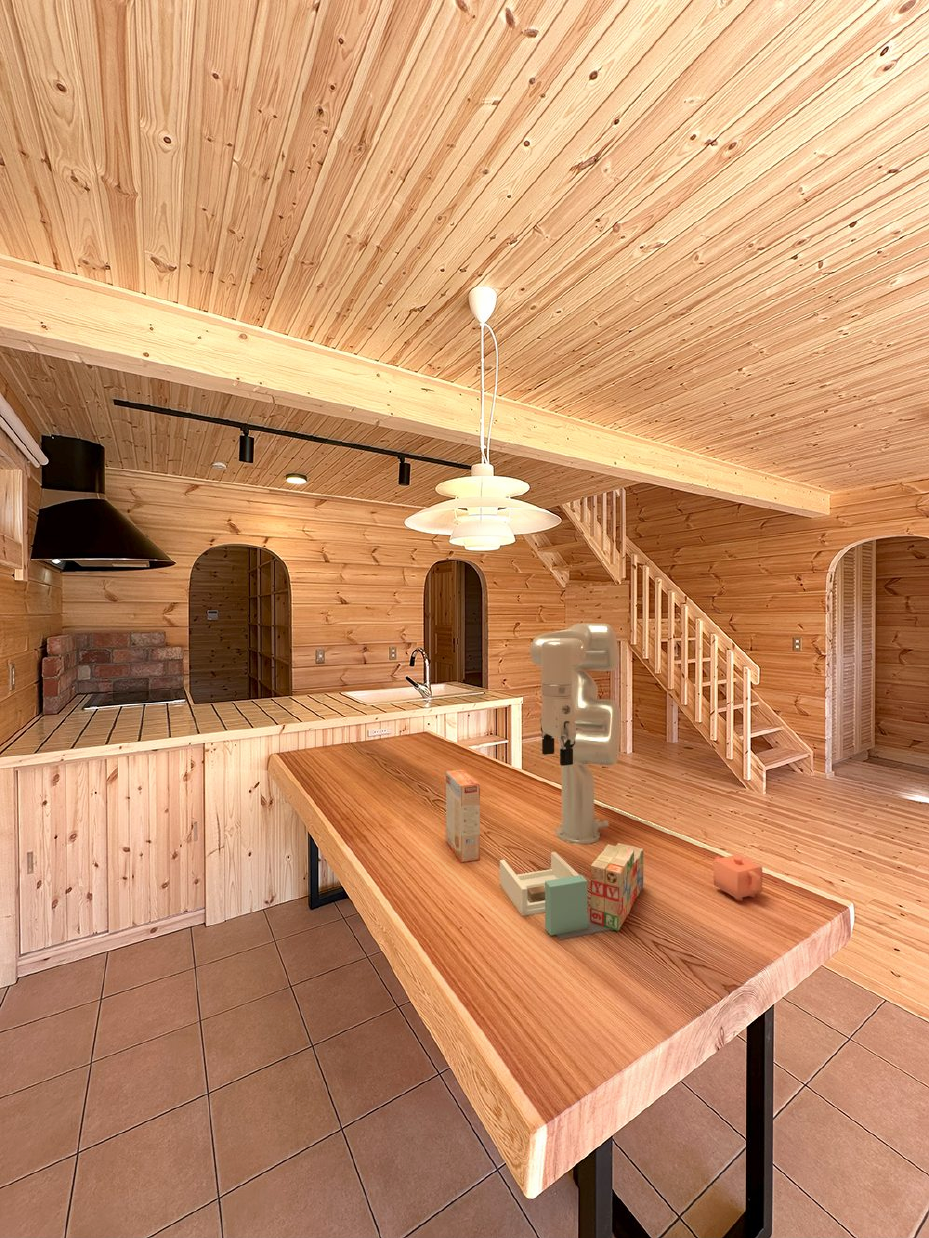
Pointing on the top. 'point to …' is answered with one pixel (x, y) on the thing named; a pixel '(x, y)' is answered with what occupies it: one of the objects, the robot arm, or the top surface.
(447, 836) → the cracker box
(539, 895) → the walnut offcut
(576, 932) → the charcoal mat
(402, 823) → the top surface
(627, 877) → the stack of blocks
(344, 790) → the top surface
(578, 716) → the robot arm
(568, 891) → the teal panel
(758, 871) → the pink cube teapot
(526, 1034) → the top surface
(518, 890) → the rack
